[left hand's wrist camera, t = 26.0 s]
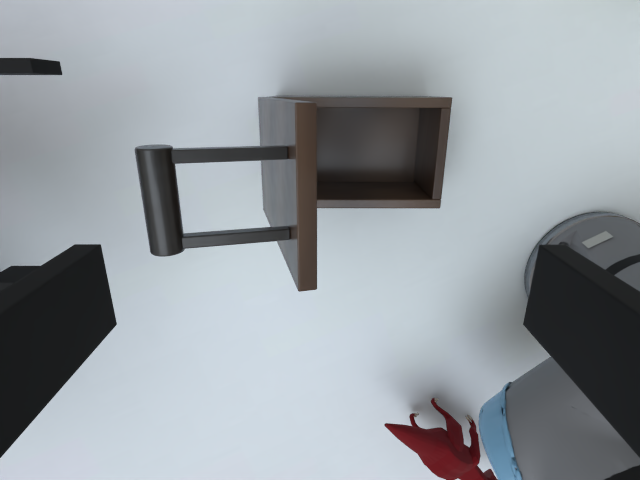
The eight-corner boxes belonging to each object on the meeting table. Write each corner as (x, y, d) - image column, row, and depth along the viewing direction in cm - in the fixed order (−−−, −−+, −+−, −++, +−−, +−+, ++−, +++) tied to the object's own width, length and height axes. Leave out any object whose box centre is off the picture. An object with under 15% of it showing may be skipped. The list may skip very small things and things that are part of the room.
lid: (317, 102, 19) (116, 103, 17) (317, 290, 23) (150, 308, 21) (270, 97, 35) (161, 97, 33) (274, 209, 38) (176, 215, 36)
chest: (426, 96, 44) (452, 97, 35) (418, 187, 47) (440, 208, 39) (275, 95, 44) (265, 97, 35) (278, 187, 47) (269, 208, 39)
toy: (428, 418, 66) (490, 518, 57) (351, 424, 47) (428, 576, 38) (463, 392, 64) (534, 492, 55) (399, 387, 45) (492, 538, 36)
